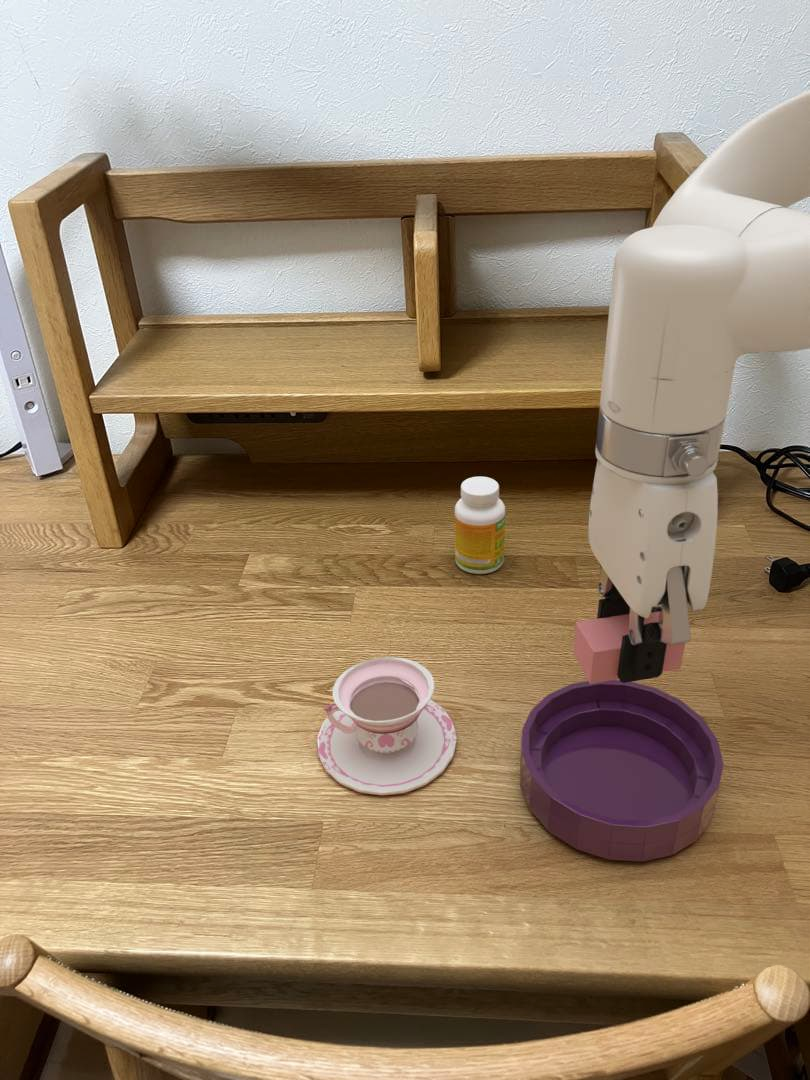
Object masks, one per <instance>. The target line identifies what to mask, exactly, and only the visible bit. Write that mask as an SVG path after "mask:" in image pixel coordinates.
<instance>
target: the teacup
mask: <svg viewBox="0 0 810 1080" xmlns="http://www.w3.org/2000/svg"><path fill="white" fill-rule="evenodd" d="M434 693H435V679H434V677H433V675H432V673H431V672H430V670H429V669H427V667H425V666H424V665H422V664H420V663H418V662H416V661H414V660H411V659H408V658H404V657H397V656H396V657H395V656H384V657H382V656H381V657H376V658H371V659H367V660H364V661H361V662H359V663H356V664H354V665H352V666H350V667H349V668H347V669H346V670H345V671H343V672H342V673H341V674H340V675H339V677H338V678H337V679H336V680H335V682H334V684H333V687H332V699H333V702H334V703H333V704H328V705H327V706H324V707H323V711H325V712H326V714H327V717H326V718H325V719H324V721H322V724H321V726H320V729H319V732H318V734H317V736H316V739H317V741H316V742H317V757H318V758H319V760H320V762H321V764H322V767H323V769H324V771H325V773H327V774H328V775H329V776H331V778H333V780H335V781H336V782H337V783H338V784H339V785H341V786H343V787H346V788H348V789H351V790H353V791H355V792H358V793H359V794H360V793H361V794H369V795H374V796H375V795H376V796H390V795H398V794H399V795H400V794H406V793H408V792H409V793H410V792H411V791H413V790H416V789H419V788H422V787H425V786H427V785H428V784H430V783H431V782H432V781H434V780H435V779H437V777H439V776H440V775H441V774H443V773H444V772H445V770H446V768H447V767H448V765H449V764H450V763H451V761H453V758H454V756H455V751H456V746H457V742H458V737H457V733H456V728H455V723H454V721H453V720H452V718H451V717H450V715H449V713H448V712H447V711H446V710H445V708H444V707H442V706H441V705H440V704H439V703H437V702H436V701H434V700H433V699H432V697H433V695H434Z"/></svg>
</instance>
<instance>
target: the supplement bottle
mask: <svg viewBox="0 0 810 1080" xmlns="http://www.w3.org/2000/svg"><path fill="white" fill-rule="evenodd" d="M460 496H461V497H460V498H459V499H458V501H457V502H456V504H455V506H454V560H455V564H456V565H457V566H458V568H459V569H460V570H462V571H463V572H466V573H469V574H474V575H485V574H486V575H487V574H490V573H494V572H495V571H498V570H499V569H500V568H501V567H502V566H503V565H504V561H505V537H506V505H505V503H504V502H503V500H502V499H501V498H500V485H499V483H498V481H496V480H495V479H493V478H491V477H488V476H472V477H469V478H468V477H467V478H466V479H465V480H463V481H462V482H461V485H460Z"/></svg>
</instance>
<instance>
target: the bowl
mask: <svg viewBox="0 0 810 1080" xmlns="http://www.w3.org/2000/svg"><path fill="white" fill-rule="evenodd" d="M520 736H521V737H520V738H521V739H520V756H519V757H520V760H519V761H520V762H519V786H520V789H521V792H522V794H523V796H524V799H525V802H526V804H527V807H528V809H529V811H530V812H531V813H532V814H533V815H534V817H536V818H537V820H538V821H539V823H540V824H541V825H542V826H543V827H544V828H545V829H546V830H547V832H549V833H550V834H552V835H554V836H555V837H557V838H558V839H560V840H561V841H563V842H564V843H566V844H567V845H569V846H571V847H572V848H574V849H576V850H578V851H580V852H584V853H587V854H589V855H593V856H595V857H600V858H603V859H604V860H610V861H626V862H627V861H628V862H647V861H651V860H655V859H661V858H664V857H665V858H666V857H670V856H673V855H675V854H677V853H678V852H680V851H682V850H683V849H685V848H687V847H688V846H690V845H691V844H693V843H695V842H696V841H698V839H699V838H700V836H702V834H703V833H704V831H705V830H706V828H707V827H708V826H709V824H710V823H711V821H712V819H713V815H714V811H715V806H716V802H717V799H718V794H719V789H720V784H721V780H722V775H723V769H724V759H723V755H722V751H721V747H720V743H719V740H718V738H717V737H716V735H715V734H714V732H713V730H712V729H711V728H710V726H709V725H708V723H707V722H706V721H705V719H704V717H702V716H701V715H700V714H698V713H697V712H696V711H695V710H694V709H692V708H691V707H690V706H688V704H686V703H685V702H684V701H683V700H681V699H679V698H677V697H675V696H673V695H671V694H669V693H667V692H665V691H663V690H661V689H659V688H657V687H654V686H649V685H646V684H642V683H638V682H635V681H632V682H626V683H622V682H621V681H620V680H619V679H616V680H611V681H605V682H599V683H593V684H590V683H589V681H588V680H585V681H581V682H580V681H579V682H574V683H571V684H568V685H566V686H563V687H561V688H559V689H557V690H555V691H552V692H550V693H548V694H547V695H545V696H544V698H543V699H541V700H540V701H539V702H538V703H537V704H536V705H534V707H532V709H531V710H530V711H529V714H528V716H527V718H526V720H525V723H524V725H523V727H522V728H521V735H520Z"/></svg>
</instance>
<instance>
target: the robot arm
mask: <svg viewBox="0 0 810 1080" xmlns="http://www.w3.org/2000/svg"><path fill="white" fill-rule="evenodd" d="M807 198H810V88H809V89H807V90H805V91H803V92H802V93H799V94H798V95H796V96H793V97H791V98H789V99H787V100H786V101H783V102H781V103H779V104H777V105H775V106H774V107H772V108H769V109H768V110H766V111H765V112H762V113H761V114H759V115H757V116H756V117H755V118H753V119H751V120H750V121H748V122H747V123H745V124H743V125H742V126H740V128H738V129H737V130H735V131H734V132H733V133H732V134H730V135H729V136H728V137H727V138H726V139H725V140H723V141H722V142H721V143H720V144H719V145H718V146H717V147H716V148H715V149H714V150H713V151H712V152H711V153H710V154H709V155H708V156H707V158H705V160H704V161H702V163H700V165H699V166H698V167H697V168H696V169H695V170H694V171H692V173H691V174H690V175H689V176H688V177H687V178H686V180H684V181H683V183H682V184H680V186H679V187H678V188H677V189H676V190H675V192H674V193H673V194H672V196H670V199H668V201H667V202H666V203H665V204H664V206H663V208H662V209H661V211H660V212H659V214H658V215H657V217H656V219H655V220H654V222H653V225H652V226H651V227H647V228H644V229H643V228H642V229H640V230H637V231H635V232H634V233H632V234H630V235H629V236H627V237H626V238H625V239H623V241H622V242H621V244H620V246H619V247H618V250H617V251H616V254H615V257H614V260H613V261H614V262H613V267H612V268H613V269H612V275H611V276H612V277H611V286H610V287H611V288H610V297H609V308H608V318H607V328H606V339H605V348H604V358H603V368H602V369H603V370H602V377H601V379H602V380H601V387H600V398H599V399H600V400H599V410H598V421H597V431H596V440H595V448H594V449H595V450H594V451H595V452H594V453H595V458H596V460H597V461H596V466H595V471H594V478H593V483H592V490H591V495H590V496H591V497H590V504H589V513H588V515H589V516H588V525H587V527H588V529H587V530H588V531H587V535H588V544H589V547H590V549H591V551H592V552H591V553H592V554H593V556H594V557H595V559H596V560H597V563H598V564H599V567H600V570H599V571H600V573H599V577H598V580H597V581H598V582H597V591H598V595H599V596H600V597H601V598H599V599H598V606H597V616H596V619H599V618H607V617H613V616H620V615H626V614H629V634H627V635H625V636H622V644H621V651H620V659H619V666H618V674H617V676H618V678H619V679H618V680H620V681H621V682H622V683H626V682H638V681H644V680H650V679H655V678H659V677H661V675H663V672H662V671H663V665H664V659H665V653H666V647H667V644H668V645H676V644H682V643H685V644H689V643H690V642H691V640H692V634H691V625H690V616H689V608H690V609H691V610H692V611H693V612H694V611H702V610H704V608H705V607H706V605H707V603H708V599H709V593H710V588H711V583H712V575H713V568H714V560H715V552H716V543H717V532H718V531H717V530H718V514H719V511H718V506H719V505H718V504H719V501H718V500H719V494H718V492H719V491H718V478H717V476H716V475H715V473H714V471H715V470H716V468H717V465H718V460H719V455H720V454H719V453H720V450H721V444H722V439H723V433H724V428H725V422H726V416H727V411H728V407H729V400H730V396H731V390H732V385H733V383H732V382H733V379H734V373H735V368H736V362H737V361H738V359H739V358H740V357H741V356H744V355H747V354H749V355H750V354H760V353H779V352H780V353H782V352H795V351H803V350H808V349H810V212H806V211H801V210H798V209H794V208H791V207H790V206H792V205H794V204H796V203H798V202H800V201H803V200H805V199H807ZM688 606H689V607H688ZM659 611H660V612H659ZM652 612H659V622H653V623H648V624H645V625H644V618H649V617H650V615H651V614H652Z"/></svg>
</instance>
